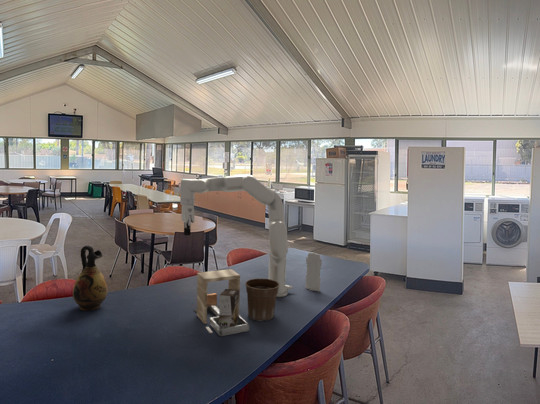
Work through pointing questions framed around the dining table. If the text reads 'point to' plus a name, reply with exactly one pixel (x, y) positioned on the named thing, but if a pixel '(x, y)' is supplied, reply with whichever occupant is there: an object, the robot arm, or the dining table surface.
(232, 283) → the tunnel
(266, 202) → the robot arm
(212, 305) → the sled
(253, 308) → the plant pot
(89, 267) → the ceramic jug
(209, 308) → the strip
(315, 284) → the tall pale column
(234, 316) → the coffee box
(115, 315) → the dining table surface
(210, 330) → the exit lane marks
